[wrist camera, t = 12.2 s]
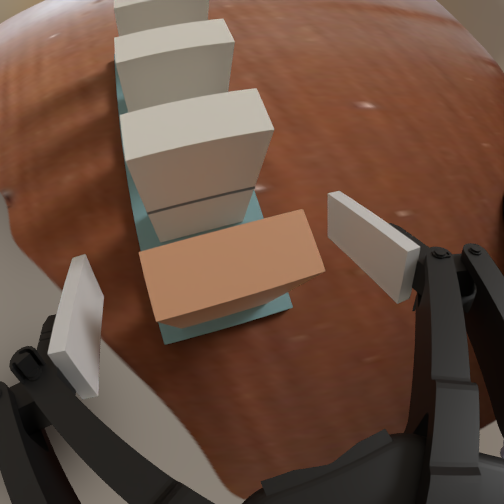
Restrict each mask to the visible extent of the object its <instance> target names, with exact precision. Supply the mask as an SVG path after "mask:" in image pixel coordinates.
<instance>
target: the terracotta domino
mask: <svg viewBox="0 0 504 504" xmlns="http://www.w3.org/2000/svg"><path fill="white" fill-rule="evenodd" d="M139 256H140V261H141V265H142V269H143V273H144V277H145V281H146V285H147V289H148V293H149V297H150V301H151V305H152V308H153V312H154V316H155V319H156V322H159V323H162V324H166V325H170V326H173V327H177V328H181V329H182V328H186V327H190V326H193V325H197V324H200V323H204V322H207V321H210V320H214V319H217V318H221V317H224V316H227V315H231V314H234V313H237V312H241V311H244V310H247V309H251V308H254V307H257V306H260V305H263V304H267V303H269V302H271V301H273V300H274V299H276V298H278V297H280V296H282V295H284V294H285V293H287V292H289V291H291V290H293V289H295V288H296V287H298V286H300V285H302V284H304V283H305V282H307V281H309V280H311V279H312V278H314V277H316V276H318V275H320V274H321V273H323V272H325V268H324V265H323V262H322V260H321V257H320V254H319V251H318V248H317V246H316V243H315V240H314V237H313V235H312V232H311V229H310V227H309V224H308V221H307V219H306V216H305V213H304V211H303V209H301V210H297V211H293V212H288V213H284V214H280V215H276V216H272V217H268V218H264V219H261V220H257V221H253V222H249V223H245V224H241V225H237V226H233V227H229V228H226V229H222V230H218V231H214V232H210V233H207V234H203V235H199V236H195V237H192V238H188V239H184V240H181V241H177V242H173V243H170V244H166V245H162V246H159V247H155V248H152V249H148V250H144V251H141V252H139Z"/></svg>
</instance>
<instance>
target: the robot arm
mask: <svg viewBox="0 0 504 504" xmlns="http://www.w3.org/2000/svg"><path fill="white" fill-rule="evenodd" d="M503 210H504V204H503ZM328 238H330V239H331V240H332V241H333V242H334V243H335V244H336V245H337V246H338V247H339V248H340V249H341V250H342V251H343V252H345V253H346V254H347V255H348V256H349V257H350V258H351V259H352V260H353V261H354V262H355V263H356V264H357V265H358V266H359V267H360V268H361V269H362V270H363V271H365V272H366V273H367V274H368V275H369V276H370V277H371V278H372V279H373V280H374V281H375V282H376V283H377V284H378V285H379V286H380V287H381V288H382V289H383V290H384V291H385V292H386V293H387V294H388V295H389V296H390V297H391V298H392V299H393V300H394V301H395V302H396V303H397V304H398V303H400V302H402V301H405V300H407V299H409V298H410V295H411V290H412V288H413V289H414V290H416V291H417V295H416V299H415V303H414V307H413V310H412V311H415V309H416V325H415V352H414V369H413V381H412V392H411V401H410V410H409V418H408V423H407V426H406V429H405V432H404V433H397V434H391V435H389V434H388V433H387V431H386V430H385V429H384V430H382V431H380V432H378V433H376V434H374V435H372V436H370V437H369V438H367V439H365V440H363V441H361V442H359V443H357V444H356V445H355V446H353V447H352V448H351V449H350V450H348V451H347V452H346V453H345V454H343V455H342V456H341V457H339V458H338V459H337V460H336V461H334V462H333V463H331V464H329V465H324V466H319V467H312V468H306V469H299V470H293V471H290V472H287V473H285V474H282V475H279V476H276V477H273V478H270V479H267V480H264V481H261V484H262V487H263V488H261V489H259V490H258V491H256V492H255V493H253V494H252V495H251V496H249V497H248V498H247V499H246V500H245V501H244V502H243V503H242V504H504V446H503V447H502V448H501V452H500V454H501V457H502V458H500V457H495V456H491V455H487V454H483V453H479V427H480V420H479V390H478V385H477V384H476V383H471V380H470V367H469V354H468V344H467V335H466V331H467V334H468V336H469V339H470V341H471V344H472V346H473V349H474V352H475V355H476V357H477V360H478V363H479V366H480V369H481V372H482V374H483V378H484V381H485V384H486V387H487V390H488V393H489V397H490V400H491V403H492V407H493V410H494V414H495V417H496V420H497V424H498V426H499V429H500V431H501V434H502V436H503V438H504V276H503V275H502V273H501V272H500V270H499V269H498V267H497V266H496V264H495V263H494V261H493V260H492V259H491V257H490V256H489V254H488V253H487V251H486V250H485V249H484V248H482V247H481V246H480V245H476V244H471V243H470V244H466V245H464V247H463V250H462V254H453V255H452V254H451V253H450V252H449V251H448V250H446V249H444V248H441V247H431V248H429V247H428V246H426V245H425V244H423V243H422V242H421V241H419V240H418V239H417V238H415V237H414V236H412V235H411V234H410V233H408V232H406V231H405V230H404V229H402V228H401V227H400V226H397V225H394V224H392V223H389V224H388V223H387V222H385V221H384V220H382V219H381V218H379V217H378V216H376V215H375V214H374V213H372V212H371V211H369V210H368V209H366V208H365V207H363V206H362V205H360V204H359V203H357V202H356V201H354V200H353V199H351V198H350V197H348V196H346V195H345V194H343V193H342V192H340V191H337V192H332V193H328ZM103 302H104V296H103V293H102V291H101V289H100V287H99V285H98V282H97V280H96V278H95V275H94V273H93V271H92V268H91V266H90V264H89V261H88V259H87V256H86V254H84V255H81V256H77V257H74V258H72V261H71V264H70V268H69V271H68V274H67V277H66V281H65V284H64V288H63V291H62V295H61V299H60V302H59V306H58V310H57V314H55V315H51V316H49V317H48V318H47V320H46V321H45V323H44V324H43V327H42V331H41V335H40V339H39V341H40V342H39V343H38V347H37V350H36V349H35V348H33V347H32V346H26V347H23V348H21V349H19V350H18V351H17V352H16V353H15V354H14V355H13V357H12V358H11V360H10V369H11V371H12V372H13V374H14V375H15V376H16V377H17V378H18V380H19V381H20V383H18V384H16V385H14V386H12V387H10V388H9V387H8V386H7V385H6V384H5V383H3V382H0V470H1V473H2V477H3V480H4V482H5V486H6V488H7V492H8V494H9V497H10V500H11V502H12V504H81V502H80V501H79V499H78V497H77V495H76V494H75V492H74V490H73V488H72V486H71V484H70V483H69V481H68V479H67V477H66V475H65V473H64V471H63V469H62V467H61V465H60V463H59V460H58V458H57V456H56V454H55V452H54V450H53V447H52V445H51V443H50V440H49V438H48V436H47V433H46V431H45V427H47V426H50V425H53V426H54V427H55V429H56V430H57V431H58V432H59V433H60V435H61V436H62V437H63V438H64V439H65V440H66V442H67V443H68V444H69V445H70V446H71V447H72V448H73V449H74V451H75V452H76V453H77V454H78V455H79V456H80V457H81V458H82V459H83V460H84V462H85V463H86V464H87V465H88V466H89V467H90V468H92V470H93V471H94V472H96V474H97V475H98V476H99V477H100V478H101V479H102V480H103V481H105V483H106V484H108V485H109V486H110V487H111V488H112V489H113V490H114V491H115V492H116V493H117V494H118V495H120V496H121V497H122V498H123V499H124V500H125V501H127V502H128V503H129V504H214V503H213V502H211V501H209V500H207V499H206V498H204V497H203V496H201V495H199V494H198V493H196V492H195V491H193V490H192V489H190V488H188V487H187V486H185V485H184V484H182V483H180V482H178V481H176V480H174V479H173V478H171V477H170V476H169V475H167V474H166V473H164V472H163V471H162V470H160V469H159V468H158V467H156V466H155V465H153V464H152V463H151V462H150V461H148V460H147V459H146V458H144V457H143V456H142V455H140V454H139V453H138V452H137V451H136V450H134V449H133V448H132V447H131V446H129V445H128V444H127V443H126V442H124V441H123V440H122V439H121V438H120V437H119V436H117V435H116V434H115V433H114V432H113V431H112V430H111V429H110V428H108V427H107V426H106V425H105V424H104V423H103V422H102V421H101V420H100V419H98V417H96V416H95V415H94V414H93V413H92V412H91V411H90V410H89V409H88V408H87V407H86V406H85V405H84V404H83V403H82V402H81V401H80V400H79V399H78V398H77V397H76V396H75V393H76V392H77V393H78V394H79V396H80V397H81V398H82V399H87V398H93V397H98V396H99V358H100V339H101V325H102V313H103ZM503 443H504V442H503Z"/></svg>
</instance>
